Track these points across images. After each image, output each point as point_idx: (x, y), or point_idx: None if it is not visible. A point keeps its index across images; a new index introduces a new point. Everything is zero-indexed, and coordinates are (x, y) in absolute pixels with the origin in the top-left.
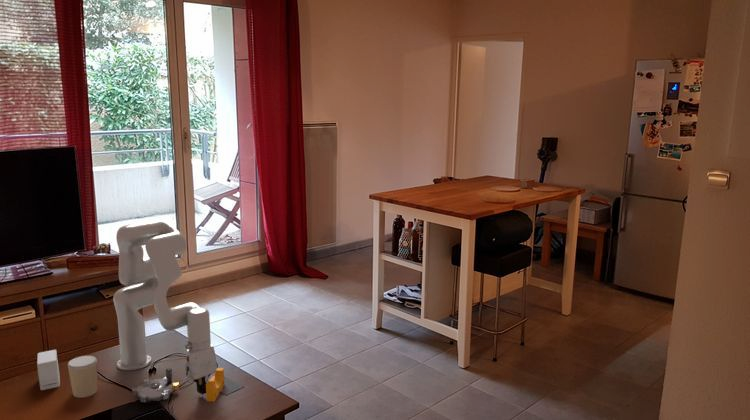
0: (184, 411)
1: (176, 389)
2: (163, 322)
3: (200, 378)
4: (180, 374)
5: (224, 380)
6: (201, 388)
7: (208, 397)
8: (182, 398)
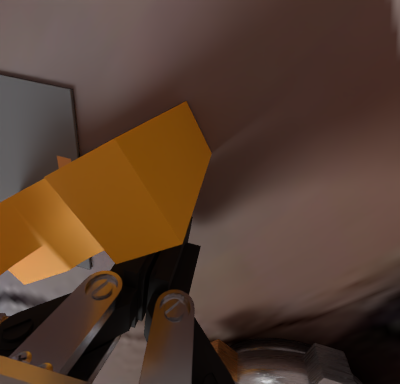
0: (396, 198)
1: (226, 348)
2: None
3: (155, 371)
4: (115, 366)
5: None
6: (179, 256)
7: (201, 150)
8: (251, 288)
